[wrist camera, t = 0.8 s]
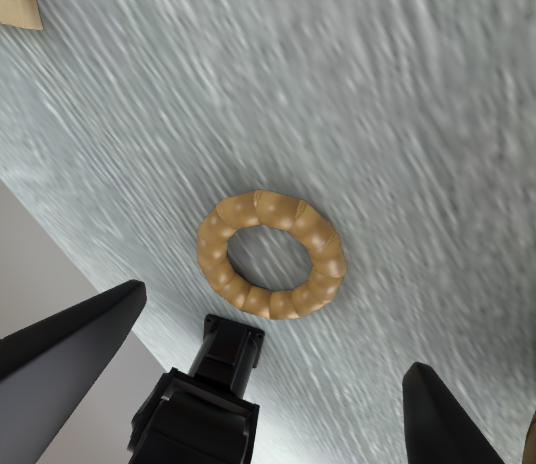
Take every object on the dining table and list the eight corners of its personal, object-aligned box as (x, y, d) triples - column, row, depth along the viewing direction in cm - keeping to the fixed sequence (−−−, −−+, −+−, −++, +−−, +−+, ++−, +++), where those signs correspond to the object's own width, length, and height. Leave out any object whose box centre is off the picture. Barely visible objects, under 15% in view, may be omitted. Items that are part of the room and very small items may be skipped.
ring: (320, 319, 25) (318, 341, 23) (202, 283, 26) (191, 301, 24) (366, 210, 19) (369, 227, 17) (207, 169, 20) (192, 181, 18)
